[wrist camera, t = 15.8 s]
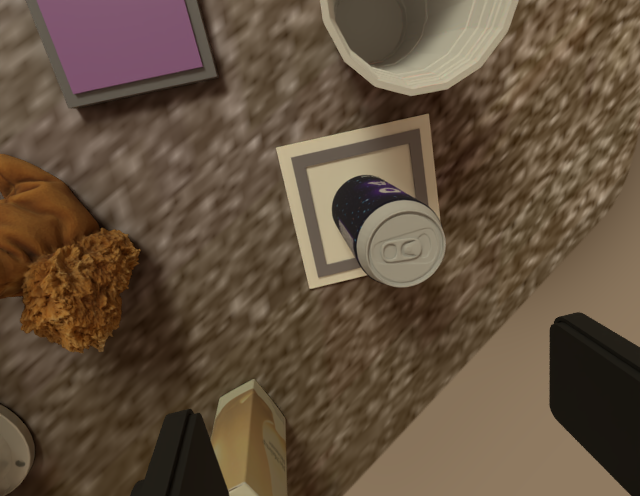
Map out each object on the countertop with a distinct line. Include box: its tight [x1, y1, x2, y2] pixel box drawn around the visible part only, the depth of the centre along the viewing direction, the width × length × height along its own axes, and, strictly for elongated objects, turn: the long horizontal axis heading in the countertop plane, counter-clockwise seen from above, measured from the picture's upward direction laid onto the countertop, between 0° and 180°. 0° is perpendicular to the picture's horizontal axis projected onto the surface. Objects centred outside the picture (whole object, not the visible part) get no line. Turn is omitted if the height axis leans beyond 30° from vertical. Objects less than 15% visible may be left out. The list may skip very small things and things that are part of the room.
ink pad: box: [26, 0, 219, 108], centre depth 28 cm, size 11×11×2 cm
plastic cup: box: [320, 0, 519, 96], centre depth 25 cm, size 11×11×12 cm
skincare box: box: [211, 379, 287, 496], centre depth 35 cm, size 6×4×12 cm
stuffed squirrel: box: [0, 154, 141, 353], centre depth 27 cm, size 10×14×13 cm
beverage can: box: [332, 175, 446, 288], centre depth 29 cm, size 6×6×12 cm
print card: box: [276, 114, 440, 289], centre depth 35 cm, size 13×13×1 cm
